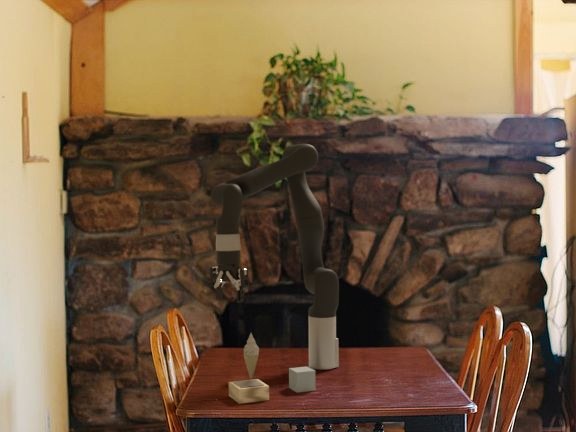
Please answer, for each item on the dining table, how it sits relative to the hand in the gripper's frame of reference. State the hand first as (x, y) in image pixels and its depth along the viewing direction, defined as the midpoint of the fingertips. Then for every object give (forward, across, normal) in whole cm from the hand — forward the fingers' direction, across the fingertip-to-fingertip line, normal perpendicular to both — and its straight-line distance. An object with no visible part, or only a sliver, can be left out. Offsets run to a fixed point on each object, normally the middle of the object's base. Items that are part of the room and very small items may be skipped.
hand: (229, 301), depth 237 cm
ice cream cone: (+26, -2, -6) cm, 27 cm away
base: (+25, -16, +10) cm, 32 cm away
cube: (+26, -22, -7) cm, 35 cm away
